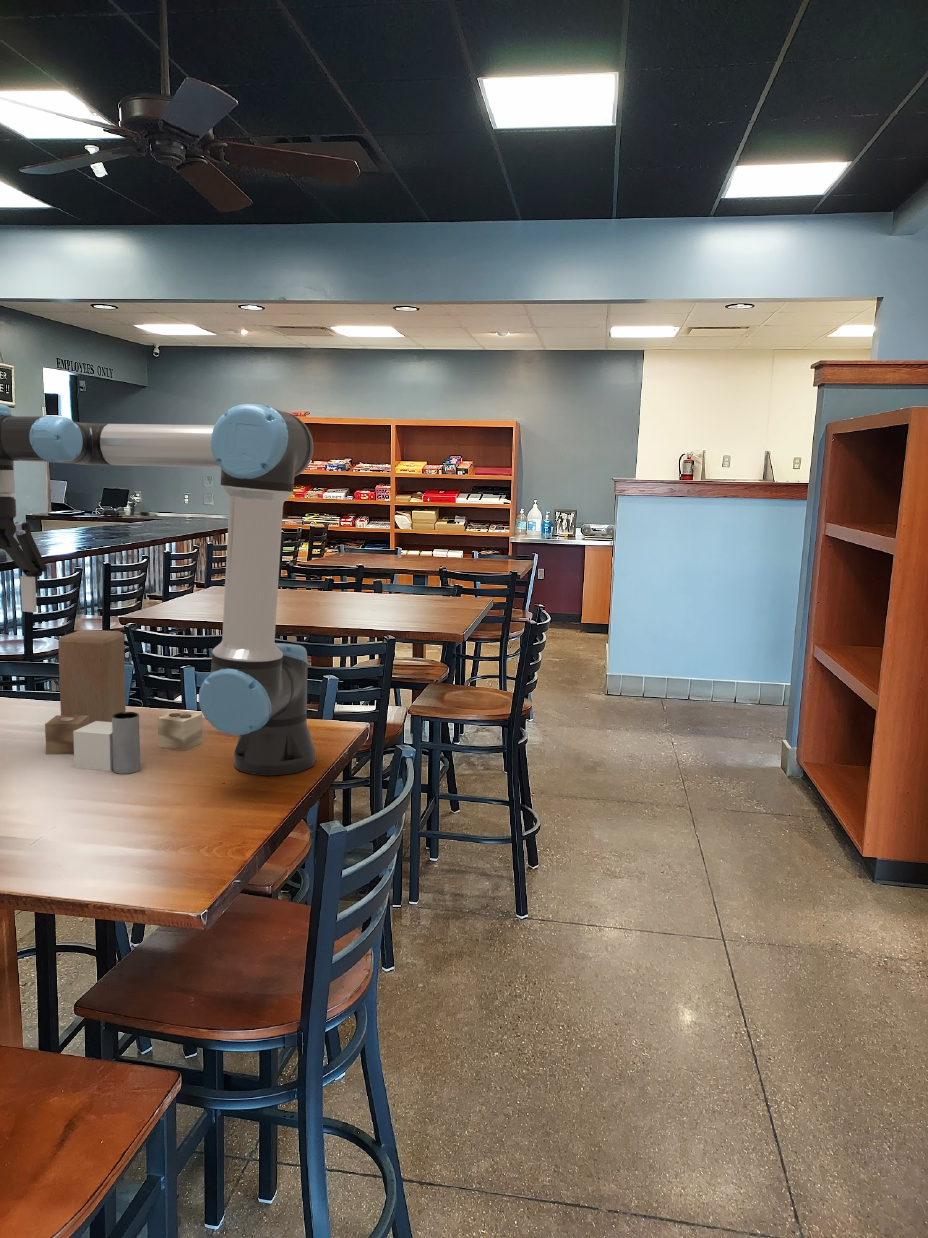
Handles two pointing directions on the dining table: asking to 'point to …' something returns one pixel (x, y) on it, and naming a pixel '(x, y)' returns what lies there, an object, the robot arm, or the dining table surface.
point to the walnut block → (63, 733)
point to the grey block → (94, 746)
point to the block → (92, 674)
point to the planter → (126, 742)
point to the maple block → (179, 730)
